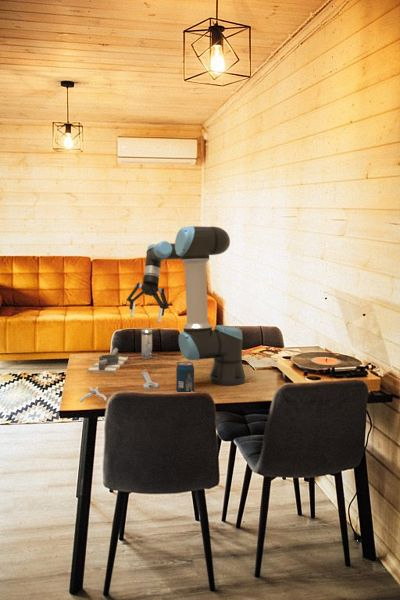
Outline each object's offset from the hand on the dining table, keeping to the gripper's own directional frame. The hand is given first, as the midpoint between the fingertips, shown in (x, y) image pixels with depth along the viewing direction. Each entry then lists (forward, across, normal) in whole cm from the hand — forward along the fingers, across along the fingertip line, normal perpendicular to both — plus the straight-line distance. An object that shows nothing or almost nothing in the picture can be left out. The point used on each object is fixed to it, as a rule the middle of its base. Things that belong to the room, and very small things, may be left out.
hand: (145, 319), depth 270 cm
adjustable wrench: (+32, +1, +22) cm, 39 cm away
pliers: (+42, +26, +30) cm, 58 cm away
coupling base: (+23, +12, -8) cm, 27 cm away
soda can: (+36, -8, +41) cm, 55 cm away
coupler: (+15, -7, -14) cm, 22 cm away
